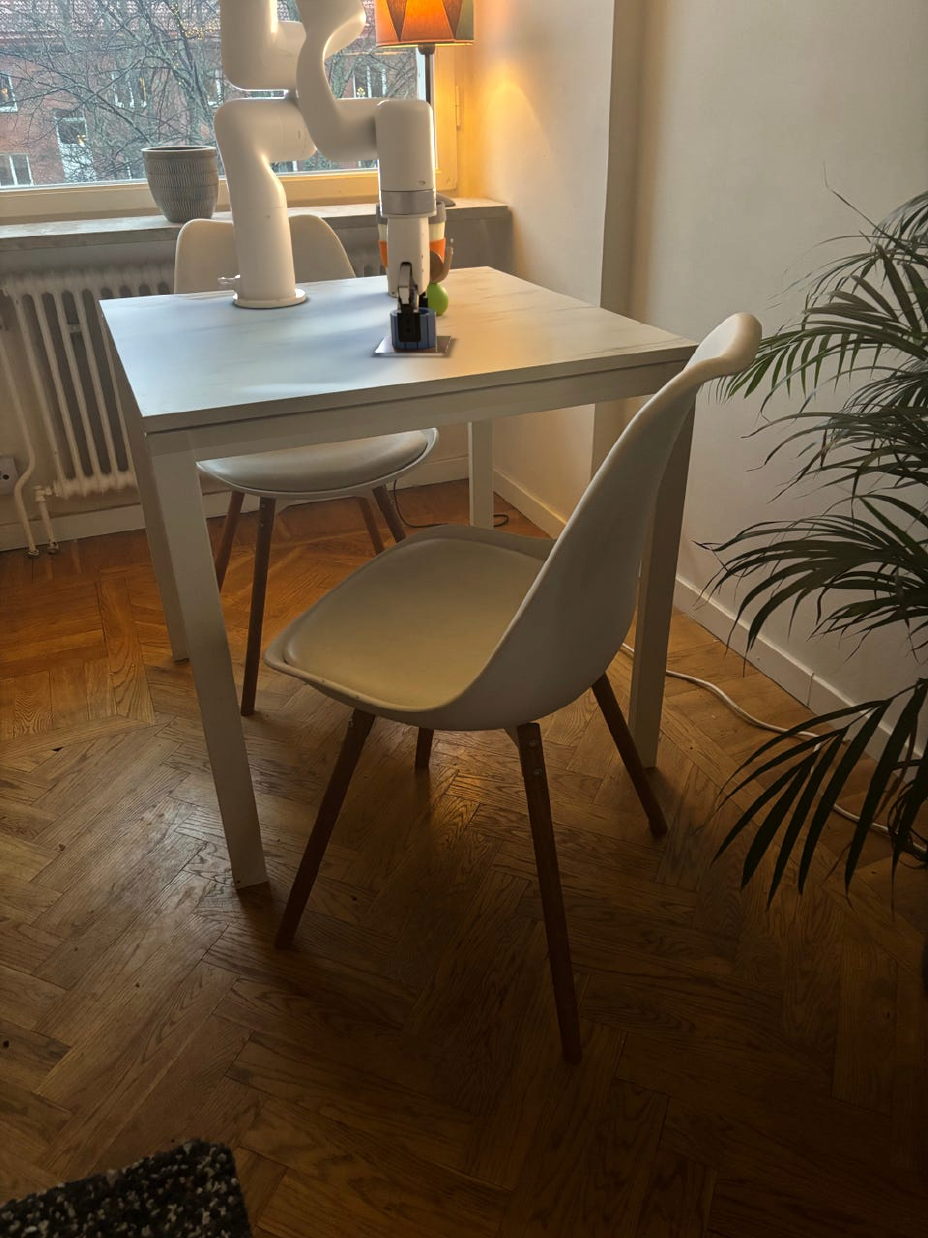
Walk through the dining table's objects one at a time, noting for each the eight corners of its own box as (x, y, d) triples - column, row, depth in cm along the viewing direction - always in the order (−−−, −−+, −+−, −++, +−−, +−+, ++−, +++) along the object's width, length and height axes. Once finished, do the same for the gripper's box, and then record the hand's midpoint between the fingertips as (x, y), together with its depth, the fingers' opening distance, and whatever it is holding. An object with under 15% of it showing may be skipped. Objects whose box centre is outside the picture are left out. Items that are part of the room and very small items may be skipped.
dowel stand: (375, 356, 132) (371, 308, 128) (385, 339, 140) (382, 293, 137) (445, 356, 131) (444, 308, 128) (451, 339, 140) (450, 293, 136)
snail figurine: (451, 321, 150) (449, 241, 144) (412, 320, 151) (408, 241, 145) (458, 314, 155) (456, 236, 149) (420, 313, 156) (417, 236, 150)
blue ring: (389, 349, 133) (387, 316, 131) (395, 338, 138) (393, 307, 136) (434, 349, 132) (432, 316, 130) (438, 338, 138) (437, 306, 136)
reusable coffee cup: (447, 299, 165) (445, 207, 157) (376, 300, 165) (370, 208, 158) (449, 285, 176) (447, 198, 168) (383, 287, 176) (377, 200, 169)
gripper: (389, 197, 134) (396, 320, 142) (370, 211, 119) (379, 348, 127) (442, 196, 133) (445, 320, 142) (428, 211, 118) (433, 348, 127)
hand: (414, 333), depth 135 cm, fingers open, 9 cm apart
